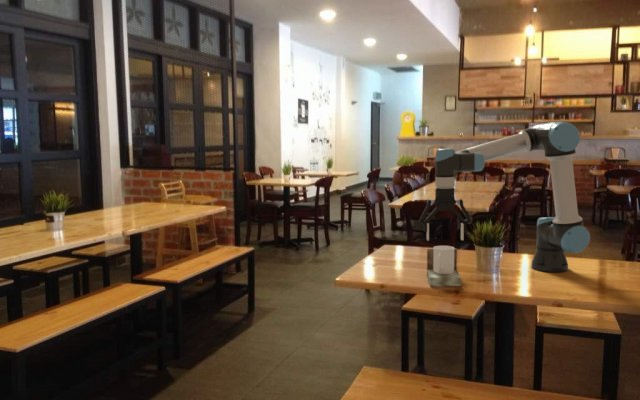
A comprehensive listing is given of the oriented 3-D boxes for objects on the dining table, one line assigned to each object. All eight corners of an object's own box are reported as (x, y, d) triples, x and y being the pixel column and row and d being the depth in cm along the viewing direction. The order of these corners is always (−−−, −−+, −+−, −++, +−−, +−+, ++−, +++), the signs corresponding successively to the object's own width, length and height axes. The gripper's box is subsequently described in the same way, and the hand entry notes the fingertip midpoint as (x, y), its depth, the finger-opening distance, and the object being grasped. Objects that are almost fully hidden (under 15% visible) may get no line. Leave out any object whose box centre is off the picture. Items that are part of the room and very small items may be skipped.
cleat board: (455, 276, 239) (456, 248, 237) (460, 286, 223) (461, 256, 221) (426, 275, 240) (427, 248, 239) (429, 286, 224) (430, 256, 223)
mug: (448, 277, 223) (448, 252, 222) (428, 275, 227) (428, 250, 226) (456, 271, 234) (456, 246, 232) (436, 269, 237) (436, 244, 236)
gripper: (475, 186, 228) (475, 238, 231) (412, 186, 231) (413, 238, 234) (478, 187, 221) (478, 241, 223) (413, 188, 224) (414, 241, 226)
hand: (444, 239), depth 228 cm, fingers open, 13 cm apart
